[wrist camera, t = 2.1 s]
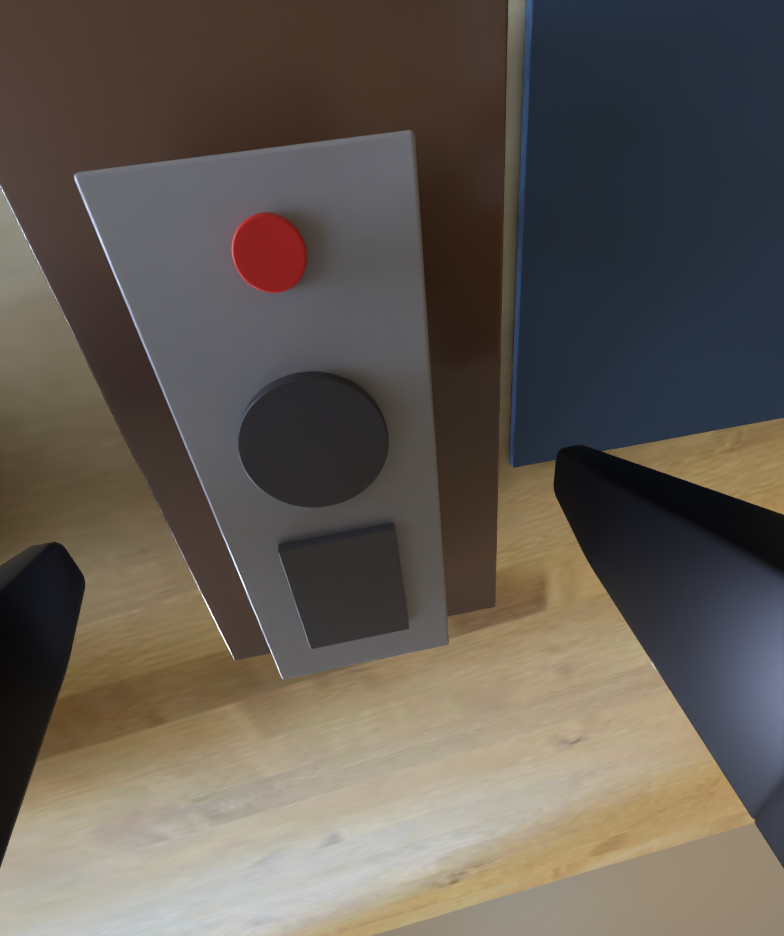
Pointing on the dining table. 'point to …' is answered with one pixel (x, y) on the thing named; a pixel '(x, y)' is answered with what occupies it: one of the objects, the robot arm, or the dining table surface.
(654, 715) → the dining table surface
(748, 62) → the placemat
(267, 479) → the remote
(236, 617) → the bench
